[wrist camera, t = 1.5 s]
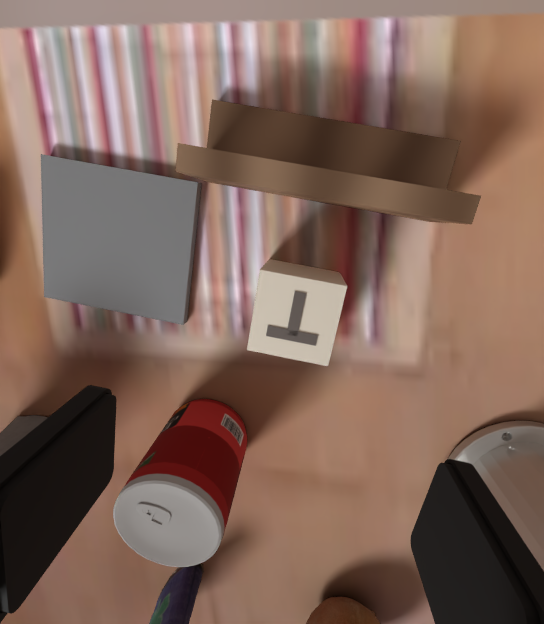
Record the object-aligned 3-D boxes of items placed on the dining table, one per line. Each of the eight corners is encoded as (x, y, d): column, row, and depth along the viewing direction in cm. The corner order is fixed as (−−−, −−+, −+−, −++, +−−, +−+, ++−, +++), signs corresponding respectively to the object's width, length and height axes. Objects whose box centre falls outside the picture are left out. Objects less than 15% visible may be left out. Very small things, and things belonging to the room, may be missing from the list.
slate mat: (201, 183, 28) (197, 182, 27) (187, 321, 31) (183, 324, 30) (49, 156, 28) (40, 154, 27) (52, 294, 32) (44, 296, 31)
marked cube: (339, 271, 29) (347, 286, 23) (324, 337, 30) (327, 367, 24) (269, 258, 29) (259, 269, 23) (258, 324, 31) (246, 350, 25)
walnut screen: (453, 144, 25) (507, 118, 18) (430, 221, 27) (471, 224, 20) (216, 104, 26) (184, 66, 19) (207, 182, 28) (175, 171, 21)
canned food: (176, 387, 33) (115, 468, 23) (256, 407, 33) (231, 497, 22) (167, 451, 35) (107, 552, 25) (241, 470, 35) (213, 580, 25)
